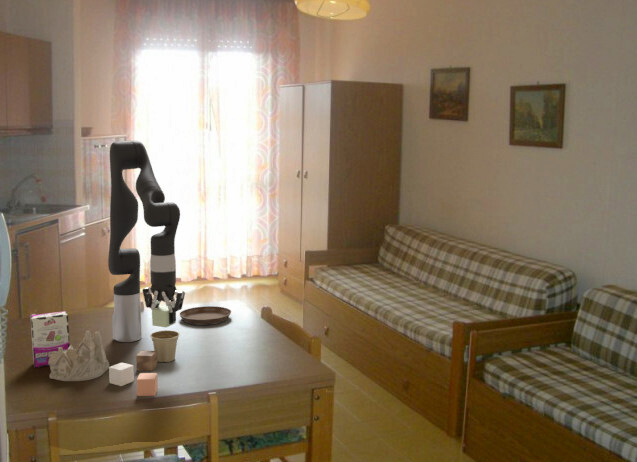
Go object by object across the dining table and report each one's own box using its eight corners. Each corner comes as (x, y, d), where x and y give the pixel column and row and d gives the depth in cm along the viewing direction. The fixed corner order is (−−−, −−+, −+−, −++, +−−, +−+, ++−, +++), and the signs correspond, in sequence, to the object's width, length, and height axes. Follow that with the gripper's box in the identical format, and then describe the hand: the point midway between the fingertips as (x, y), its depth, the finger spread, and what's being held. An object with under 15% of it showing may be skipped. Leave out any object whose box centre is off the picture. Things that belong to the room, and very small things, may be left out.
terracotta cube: (137, 396, 189) (136, 379, 189) (140, 389, 194) (139, 373, 193) (155, 395, 190) (154, 379, 189) (157, 389, 195) (157, 372, 194)
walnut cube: (136, 370, 210) (136, 355, 209) (142, 365, 215) (141, 350, 214) (151, 371, 209) (151, 356, 208) (157, 365, 214) (156, 351, 213)
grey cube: (109, 383, 199) (108, 367, 198) (122, 377, 203) (121, 362, 202) (121, 386, 196) (120, 370, 196) (133, 381, 201) (133, 365, 200)
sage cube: (152, 325, 201) (152, 309, 201) (161, 321, 206) (161, 305, 205) (166, 327, 200) (166, 311, 199) (175, 323, 204) (175, 307, 204)
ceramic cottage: (116, 364, 214) (111, 320, 212) (89, 385, 198) (83, 337, 196) (73, 363, 217) (67, 320, 215) (43, 383, 202) (36, 336, 199)
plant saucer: (169, 319, 268) (169, 311, 268) (212, 310, 282) (212, 303, 282) (197, 330, 253) (197, 322, 253) (241, 320, 267) (241, 312, 267)
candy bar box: (69, 358, 220) (66, 310, 217) (71, 363, 215) (68, 314, 213) (32, 363, 215) (29, 314, 212) (33, 368, 210) (31, 318, 208)
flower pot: (185, 356, 223) (184, 331, 221) (170, 365, 214) (169, 340, 213) (161, 353, 226) (160, 329, 224) (145, 362, 217) (144, 336, 216)
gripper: (135, 268, 199) (137, 323, 202) (176, 273, 194) (177, 328, 197) (150, 263, 206) (151, 316, 209) (190, 268, 201) (191, 322, 204)
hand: (164, 322), depth 203 cm, fingers closed on sage cube, 5 cm apart
